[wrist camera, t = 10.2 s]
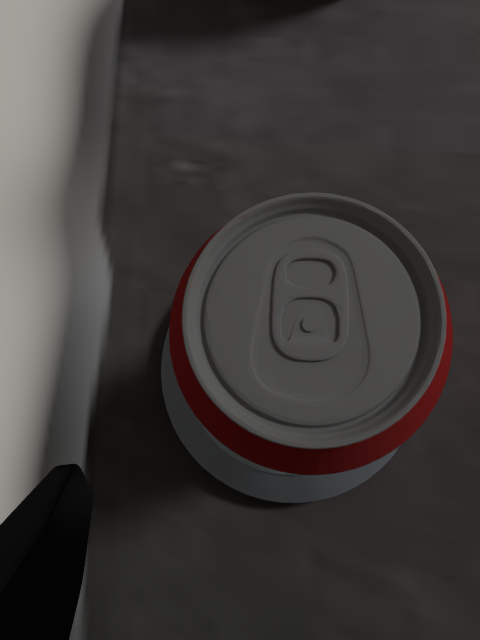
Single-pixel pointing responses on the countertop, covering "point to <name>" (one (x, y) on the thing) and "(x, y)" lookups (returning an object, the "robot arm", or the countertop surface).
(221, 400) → the beverage can
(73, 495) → the robot arm
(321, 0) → the countertop surface
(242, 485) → the slate dish
